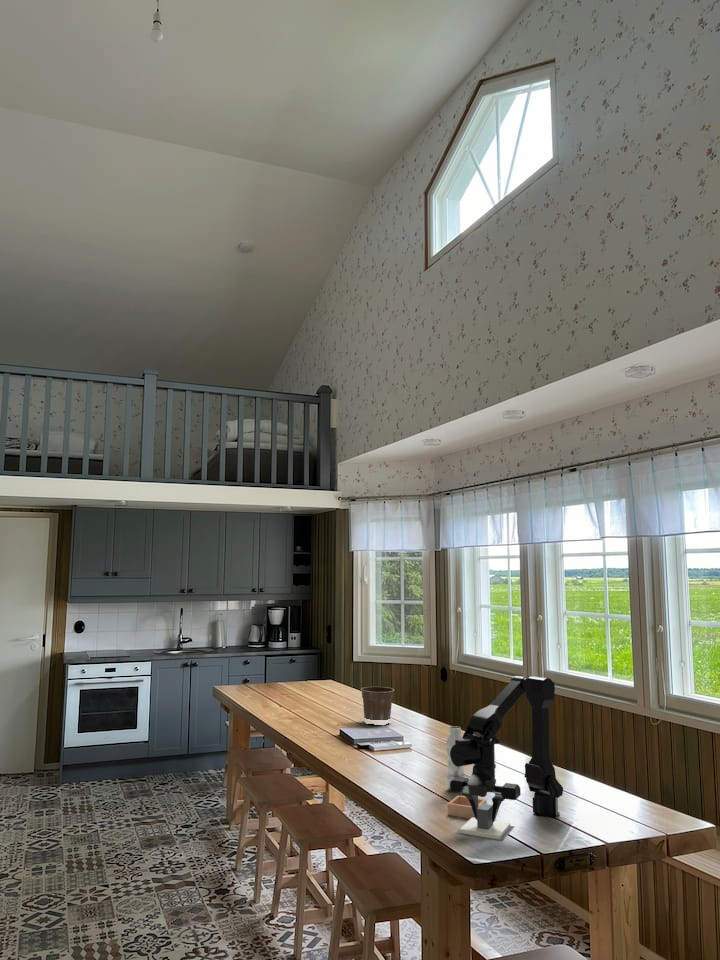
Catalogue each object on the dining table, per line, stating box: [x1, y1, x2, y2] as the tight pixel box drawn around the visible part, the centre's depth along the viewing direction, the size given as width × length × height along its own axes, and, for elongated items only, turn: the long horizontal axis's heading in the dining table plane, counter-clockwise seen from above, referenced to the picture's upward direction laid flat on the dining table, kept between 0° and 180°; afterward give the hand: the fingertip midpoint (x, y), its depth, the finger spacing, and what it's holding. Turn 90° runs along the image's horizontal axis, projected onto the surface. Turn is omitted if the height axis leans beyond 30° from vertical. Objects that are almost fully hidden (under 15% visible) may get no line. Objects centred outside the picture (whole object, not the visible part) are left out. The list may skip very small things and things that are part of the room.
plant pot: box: [360, 686, 395, 720], centre depth 347 cm, size 16×16×16 cm
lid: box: [459, 804, 511, 840], centre depth 199 cm, size 11×11×6 cm
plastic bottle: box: [445, 725, 466, 791], centre depth 239 cm, size 6×7×20 cm
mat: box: [454, 823, 515, 842], centre depth 199 cm, size 13×13×1 cm
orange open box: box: [447, 795, 487, 819], centre depth 213 cm, size 9×9×4 cm
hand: (485, 820), depth 199 cm, fingers open, 4 cm apart
